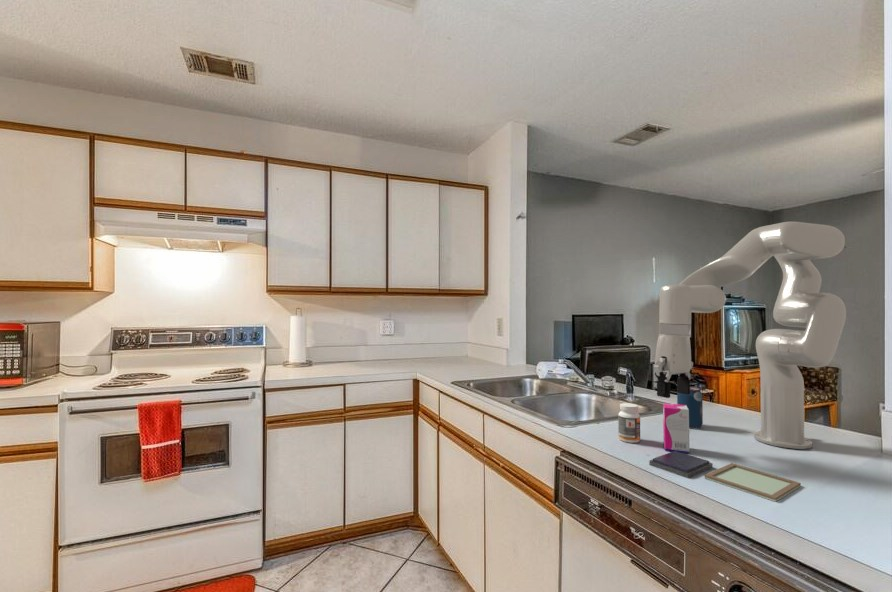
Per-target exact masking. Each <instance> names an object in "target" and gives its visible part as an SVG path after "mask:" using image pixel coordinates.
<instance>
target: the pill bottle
mask: <svg viewBox="0 0 892 592" xmlns="http://www.w3.org/2000/svg"><path fill="white" fill-rule="evenodd" d="M619 409H620V411H619V412H618V419H617V420H618V422H617V425H618V429H617V430H618V432H617V433H618V439H619V440H620V441H621V442H625V443H629V444H630V443H633V444H636V443H639V442H640V441H641V415H640V413H639V412H638V411H639V406H638V405H637V404H635V403H628V402H626V403H625V402H624V403H620V404H619Z"/></svg>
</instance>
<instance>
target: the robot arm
mask: <svg viewBox="0 0 892 592" xmlns="http://www.w3.org/2000/svg"><path fill="white" fill-rule="evenodd" d="M845 243H846V238H845V235H844V233H843V232H842V231H841V230H840V229H838V227H835V226H832V225H828V224H820V223H811V222H801V221H784V222H783V221H782V222H778V223H773V224H768V225H764V226H759V227H757V228H754V229H752V230H751V231H750V232H747V234H746V235H744V236H743V238H741V239H740V240H739V241H738V242H737V243H736V244H734V246H732V247H731V249H729V250H728V251H727V252H726V253H724V254H723V255H722V256H721V257H719V258H716V259H715V260H713V261H711V262H710V263H708V264H706V265H704V266H702V267H701V268H699V269H697V270H695V271H694V272H692V273H691V274H689V275H688V276H687V277H685V278H684V279H683V280H682V281H680V282H679V284H666V285H662V286H661V287H660V289H659V311H658V313H659V316H658V319H659V320H658V321H659V323H658V328H659V329H658V337H657V341H656V348H655V355H654V356H655V357H654V364H653V369H654V376H655V377H656V378H655V380H656V381H657V382H656V396H658V397H661V398H666V399H670V398H671V382H670V379H671V378H672V375H678V377H676V393H677V392H678V393H682V394H687V395H688V394H690V387H691V379H692V373H693V366H694V362H693V360H692V349H691V339H690V338H692V313H698V314H710V313H711V314H712V313H716V312H718V311H720V310H721V309H723V308H724V306H725V305H726V301H727V297H726V294H725V292H724V290H722V289H721V288H722V287H725V286H728V285H732V284H736V283H739V282H741V281H744V280H746V279H748V278H750V277H751V276H752V275H753V274H754V273H755V272H756V271H758V270H759V269H760V268H761V267H762V266H763V265H764V264H766V262H767V261H768V260H769V259H771V258H772V257H774V258H775V260H776V261H777V263H778V264H779V266H780V268H781V270H782V281H781V285H780V288H779V290H778V295H777V297H776V300H775V303H774V307H773V311H772V317H773V319H774V321H775V322H776V323H777V324H779V325H782V326H784V327H785V326H786V327H791V328H792V327H794V328H805V330H801V329H799V330H797V329H788V328H786V329H785V328H771V329H767V330H764V331H762V332H761V333H759V334H758V336H757V338H756V340H755V350H756V355H757V359H758V364H759V372H760V373H759V374H760V377H759V378H760V431H755V432H754V434H753V436H754V439H755V440H757V441H759V442H761V443H763V444H766V445H769V446H770V445H771V446H775V447H779V448H786V449H791V450H792V449H793V450H807V449H811V448H812V447H813V442H812V441H811V440H810V439H808V438H805V383H804V382H805V380H804V377H803V375H802V372H801V370H800V369H799V367H801V366H802V367H806V368H813V369H814V368H816V369H817V368H823V367H825V366H827V365H829V364H830V363H831V362H832V360H833V358H834V356H835V354H836V352H837V349H838V346H839V341H840V339H841V336H842V334H843V333H842V332H843V330H844V327H845V323H846V320H847V309H846V304H845V303H844V301H843V300H842V298H841V297H840V296H838V295H835V294H833V293H829V292H820V290H821V286H822V282H823V280H822V275H821V272H820V271H819V269H818V268H817V267H816V266H815V265H814V264H813V262H812V260H819V259H828V258H832V257H835V256H837V255H839V254H840V253H841V252H843V250H844V247H845V245H846V244H845ZM798 366H799V367H798Z"/></svg>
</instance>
